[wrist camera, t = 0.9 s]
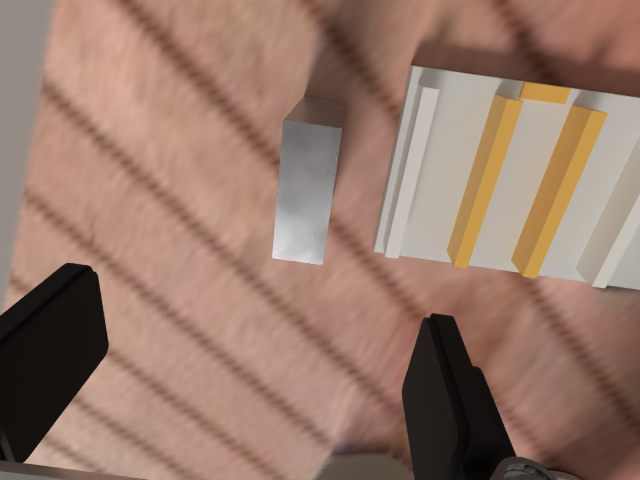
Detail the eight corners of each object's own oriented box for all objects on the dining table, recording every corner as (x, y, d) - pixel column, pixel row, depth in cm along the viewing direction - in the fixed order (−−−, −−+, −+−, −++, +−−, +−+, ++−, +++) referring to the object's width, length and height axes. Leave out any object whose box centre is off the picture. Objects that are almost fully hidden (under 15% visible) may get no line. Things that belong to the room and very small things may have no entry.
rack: (639, 281, 34) (673, 309, 30) (372, 243, 34) (375, 267, 30) (738, 111, 27) (796, 121, 24) (410, 65, 28) (419, 68, 24)
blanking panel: (329, 203, 33) (322, 264, 24) (293, 198, 33) (272, 257, 24) (344, 101, 29) (342, 128, 20) (304, 95, 29) (283, 120, 20)
